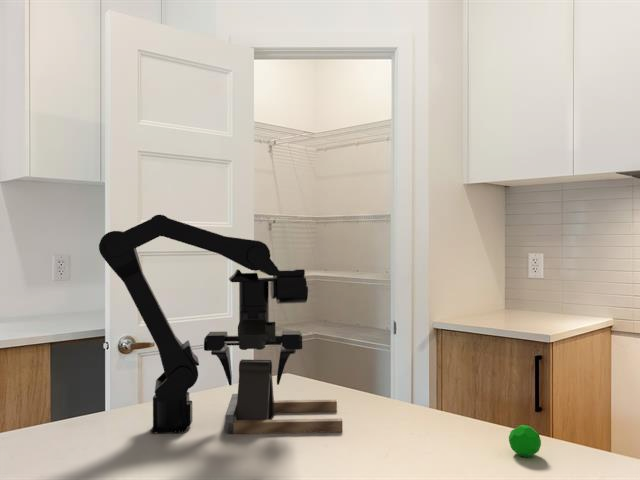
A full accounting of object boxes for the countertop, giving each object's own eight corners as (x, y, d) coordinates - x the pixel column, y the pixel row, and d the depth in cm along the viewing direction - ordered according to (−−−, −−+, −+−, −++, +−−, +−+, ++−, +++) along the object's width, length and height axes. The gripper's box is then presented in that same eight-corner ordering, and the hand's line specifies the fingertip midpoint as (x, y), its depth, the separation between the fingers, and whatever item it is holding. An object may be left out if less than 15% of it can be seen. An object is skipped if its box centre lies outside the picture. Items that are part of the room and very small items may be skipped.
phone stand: (245, 414, 118) (245, 355, 118) (275, 415, 118) (274, 355, 118) (234, 428, 109) (234, 365, 109) (266, 429, 109) (266, 365, 109)
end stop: (225, 434, 106) (225, 414, 106) (232, 410, 120) (232, 393, 120) (233, 433, 107) (233, 414, 107) (239, 410, 121) (239, 393, 120)
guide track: (228, 433, 106) (227, 423, 106) (235, 410, 120) (235, 401, 120) (342, 431, 108) (342, 420, 108) (336, 409, 122) (336, 399, 122)
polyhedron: (547, 457, 95) (547, 428, 95) (527, 463, 93) (527, 433, 93) (522, 447, 100) (522, 419, 100) (502, 453, 97) (502, 424, 97)
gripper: (199, 310, 105) (199, 397, 105) (302, 309, 106) (303, 395, 106) (207, 303, 116) (208, 381, 116) (301, 302, 117) (301, 379, 117)
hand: (254, 384), depth 114 cm, fingers open, 9 cm apart
